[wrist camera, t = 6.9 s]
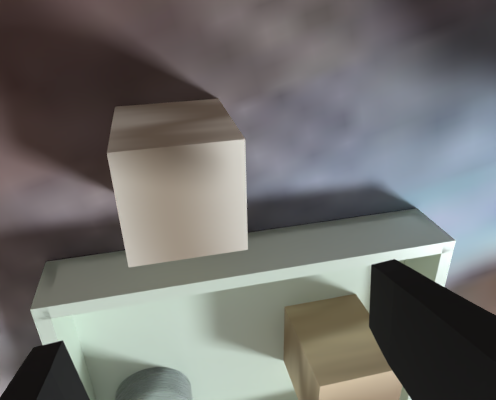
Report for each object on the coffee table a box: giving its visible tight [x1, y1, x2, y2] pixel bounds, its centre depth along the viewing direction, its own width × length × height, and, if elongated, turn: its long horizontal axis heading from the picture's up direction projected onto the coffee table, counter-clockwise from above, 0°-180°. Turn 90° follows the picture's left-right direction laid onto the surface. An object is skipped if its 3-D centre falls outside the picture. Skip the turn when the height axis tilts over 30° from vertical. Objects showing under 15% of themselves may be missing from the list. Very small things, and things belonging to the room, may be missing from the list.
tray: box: [30, 208, 456, 400], centre depth 22 cm, size 18×13×3 cm
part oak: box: [283, 294, 402, 400], centre depth 21 cm, size 4×4×5 cm
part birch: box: [107, 99, 248, 267], centre depth 15 cm, size 4×4×5 cm
